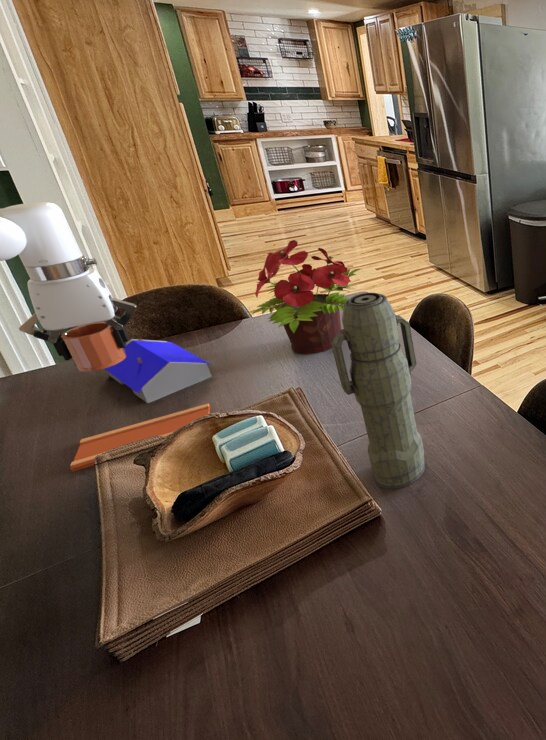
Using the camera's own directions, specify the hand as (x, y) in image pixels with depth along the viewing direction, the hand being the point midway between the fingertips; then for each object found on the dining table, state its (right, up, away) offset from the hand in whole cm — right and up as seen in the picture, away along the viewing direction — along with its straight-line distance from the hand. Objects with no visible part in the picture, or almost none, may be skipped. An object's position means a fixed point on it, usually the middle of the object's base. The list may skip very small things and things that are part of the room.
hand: (97, 350), depth 96 cm
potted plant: (+25, -3, +34) cm, 43 cm away
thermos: (+65, -21, -8) cm, 69 cm away
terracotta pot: (0, -2, +1) cm, 3 cm away
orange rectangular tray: (+10, -17, 0) cm, 20 cm away
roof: (-6, -9, +20) cm, 23 cm away
